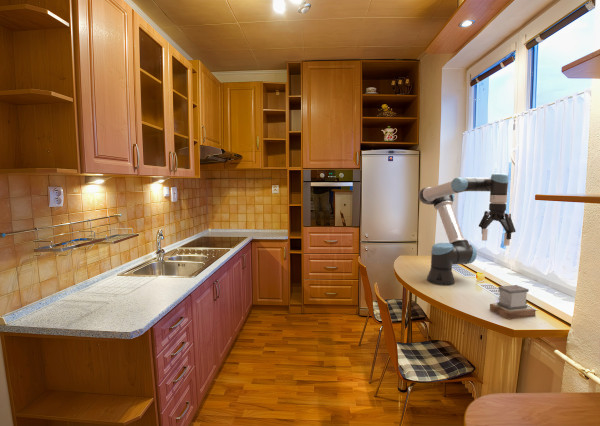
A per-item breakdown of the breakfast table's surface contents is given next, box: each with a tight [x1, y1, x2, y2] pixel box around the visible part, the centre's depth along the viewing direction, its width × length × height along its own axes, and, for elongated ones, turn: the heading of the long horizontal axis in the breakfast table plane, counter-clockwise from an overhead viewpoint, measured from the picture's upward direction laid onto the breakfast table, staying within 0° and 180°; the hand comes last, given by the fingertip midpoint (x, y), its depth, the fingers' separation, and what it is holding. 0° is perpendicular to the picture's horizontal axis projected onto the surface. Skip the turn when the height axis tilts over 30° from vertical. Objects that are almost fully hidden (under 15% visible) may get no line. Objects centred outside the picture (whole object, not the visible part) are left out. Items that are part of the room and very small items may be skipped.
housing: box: [496, 284, 530, 310], centre depth 139 cm, size 6×10×9 cm, turn 103°
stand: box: [489, 302, 537, 320], centre depth 139 cm, size 10×15×3 cm, turn 103°
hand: (494, 242), depth 159 cm, fingers open, 13 cm apart
